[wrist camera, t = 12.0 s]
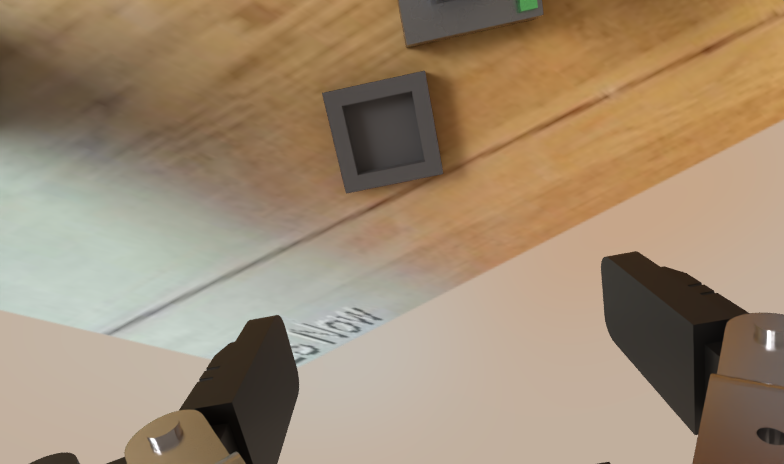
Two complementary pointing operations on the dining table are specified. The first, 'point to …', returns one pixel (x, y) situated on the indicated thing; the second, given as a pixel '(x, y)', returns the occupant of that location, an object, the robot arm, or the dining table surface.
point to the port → (461, 17)
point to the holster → (384, 132)
